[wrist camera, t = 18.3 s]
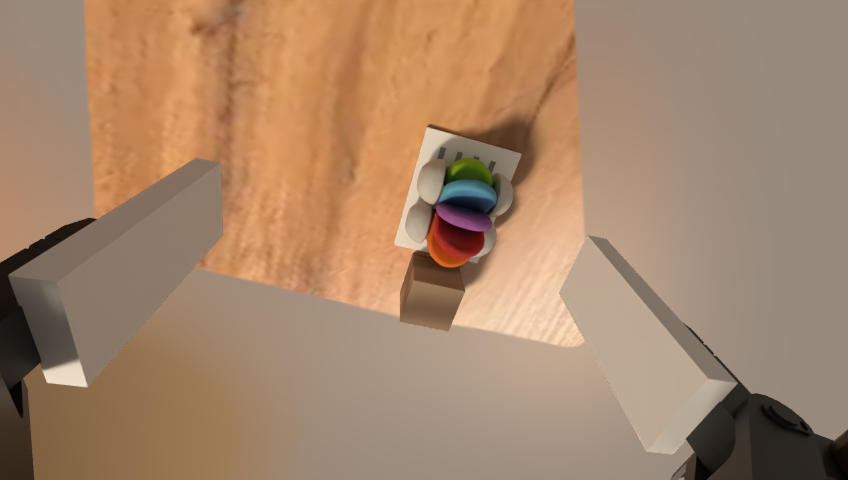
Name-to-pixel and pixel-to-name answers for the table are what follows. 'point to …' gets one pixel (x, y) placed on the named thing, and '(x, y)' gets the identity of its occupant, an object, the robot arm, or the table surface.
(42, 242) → the robot arm
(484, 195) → the rainbow petal toy
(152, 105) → the table surface
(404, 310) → the walnut block
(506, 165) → the letter
